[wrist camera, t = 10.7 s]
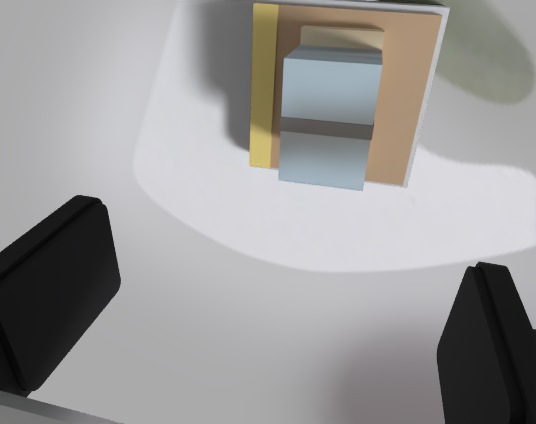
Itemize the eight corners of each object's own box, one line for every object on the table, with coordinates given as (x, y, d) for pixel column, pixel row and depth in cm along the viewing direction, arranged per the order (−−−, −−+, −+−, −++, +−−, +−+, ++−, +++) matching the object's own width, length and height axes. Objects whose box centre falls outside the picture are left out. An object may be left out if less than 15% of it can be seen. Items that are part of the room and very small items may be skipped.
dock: (264, -6, 29) (251, -5, 26) (444, 5, 27) (451, 8, 24) (258, 155, 35) (247, 170, 32) (405, 174, 33) (407, 192, 30)
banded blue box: (303, 25, 26) (283, 37, 21) (385, 29, 25) (387, 43, 20) (294, 157, 31) (276, 195, 25) (364, 164, 30) (361, 206, 24)
